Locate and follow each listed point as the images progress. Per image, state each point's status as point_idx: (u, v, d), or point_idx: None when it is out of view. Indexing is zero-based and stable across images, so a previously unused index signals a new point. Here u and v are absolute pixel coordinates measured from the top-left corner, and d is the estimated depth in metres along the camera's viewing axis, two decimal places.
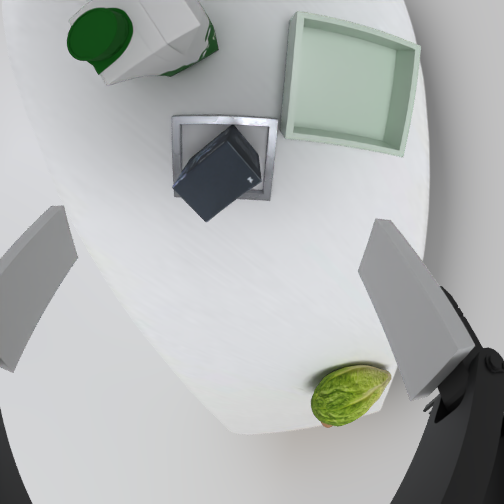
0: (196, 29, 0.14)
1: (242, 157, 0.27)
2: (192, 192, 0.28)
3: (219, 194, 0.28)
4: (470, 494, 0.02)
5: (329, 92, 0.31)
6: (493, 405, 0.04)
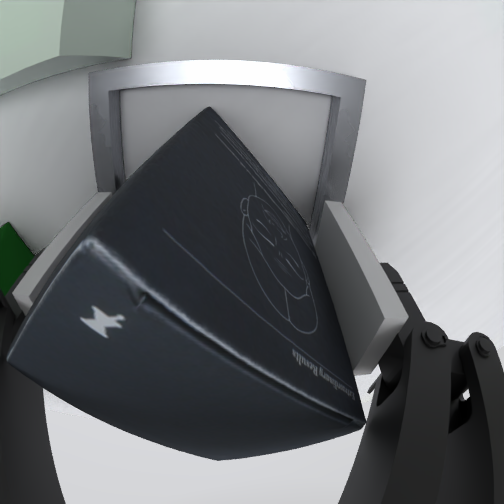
0: None
1: None
2: (230, 451, 0.06)
3: (236, 424, 0.05)
4: (420, 484, 0.03)
5: None
6: (437, 383, 0.05)
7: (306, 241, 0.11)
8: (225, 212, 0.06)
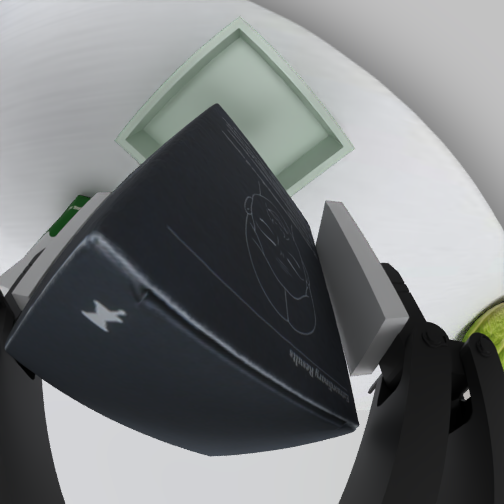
0: None
1: None
2: (223, 447, 0.07)
3: (231, 421, 0.05)
4: (421, 484, 0.03)
5: None
6: (438, 384, 0.05)
7: (308, 241, 0.11)
8: (229, 211, 0.06)
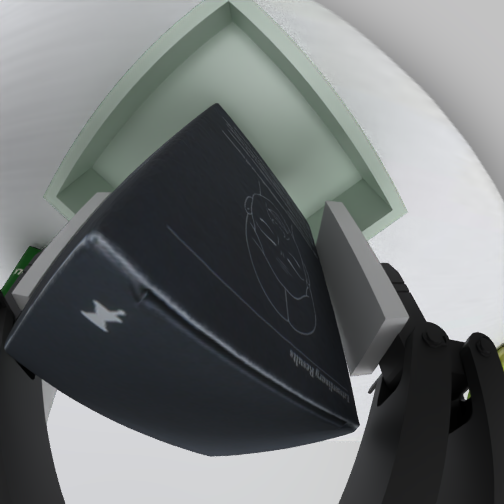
0: None
1: (24, 312, 0.04)
2: (222, 447, 0.07)
3: (231, 422, 0.05)
4: (421, 484, 0.03)
5: None
6: (438, 383, 0.05)
7: (308, 241, 0.11)
8: (229, 211, 0.06)
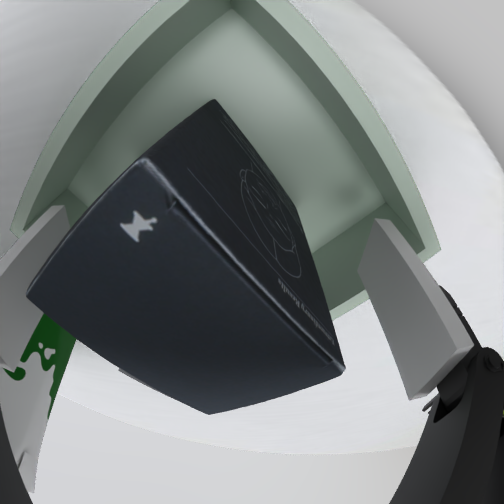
0: None
1: (57, 248, 0.05)
2: (221, 395, 0.08)
3: (230, 347, 0.06)
4: (469, 494, 0.02)
5: None
6: (493, 405, 0.04)
7: (294, 218, 0.13)
8: (228, 173, 0.07)
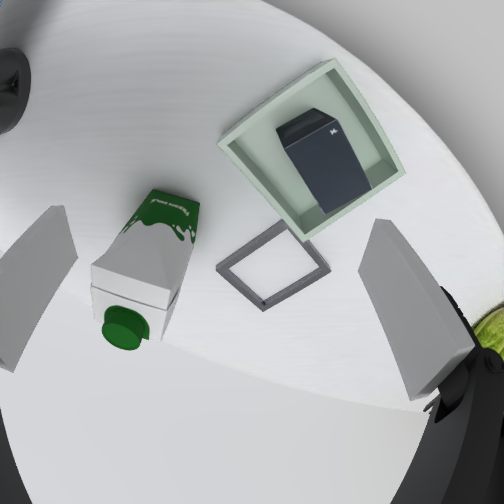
0: (171, 290, 0.23)
1: (305, 135, 0.22)
2: (335, 195, 0.25)
3: (344, 167, 0.23)
4: (470, 494, 0.02)
5: None
6: (494, 405, 0.04)
7: None
8: None
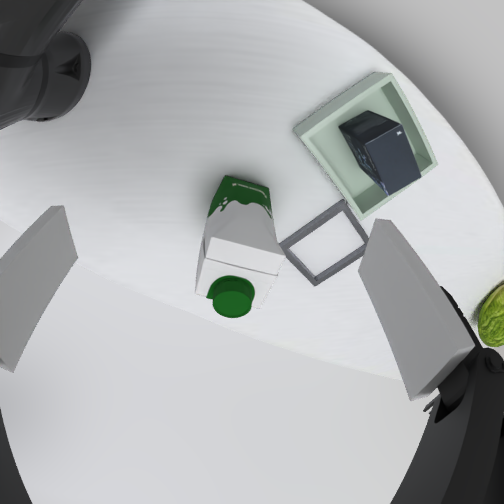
0: None
1: (379, 134, 0.27)
2: (397, 181, 0.30)
3: (404, 160, 0.28)
4: (470, 494, 0.02)
5: None
6: (494, 405, 0.04)
7: None
8: None
